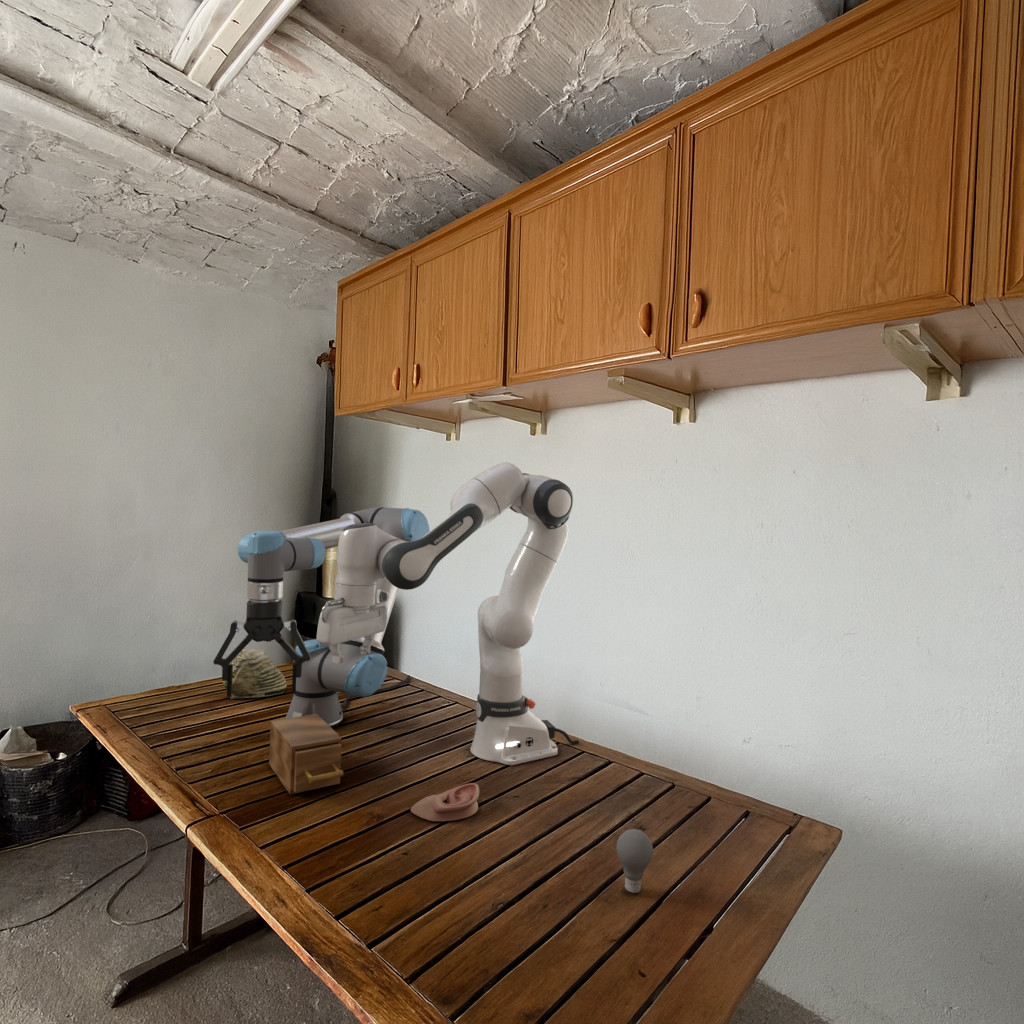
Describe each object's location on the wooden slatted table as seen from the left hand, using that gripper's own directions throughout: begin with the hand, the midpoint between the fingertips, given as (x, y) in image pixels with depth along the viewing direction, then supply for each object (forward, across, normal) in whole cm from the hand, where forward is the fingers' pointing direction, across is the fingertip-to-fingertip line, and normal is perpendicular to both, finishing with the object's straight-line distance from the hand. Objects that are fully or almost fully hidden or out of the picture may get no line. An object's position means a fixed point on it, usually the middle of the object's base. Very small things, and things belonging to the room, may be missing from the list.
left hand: (262, 693), depth 143 cm
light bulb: (+18, +63, -60) cm, 88 cm away
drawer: (+17, +11, -7) cm, 22 cm away
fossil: (+19, -6, +59) cm, 62 cm away
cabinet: (+18, +10, -2) cm, 21 cm away
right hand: (-10, +19, -9) cm, 23 cm away
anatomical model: (+18, +38, -26) cm, 49 cm away
